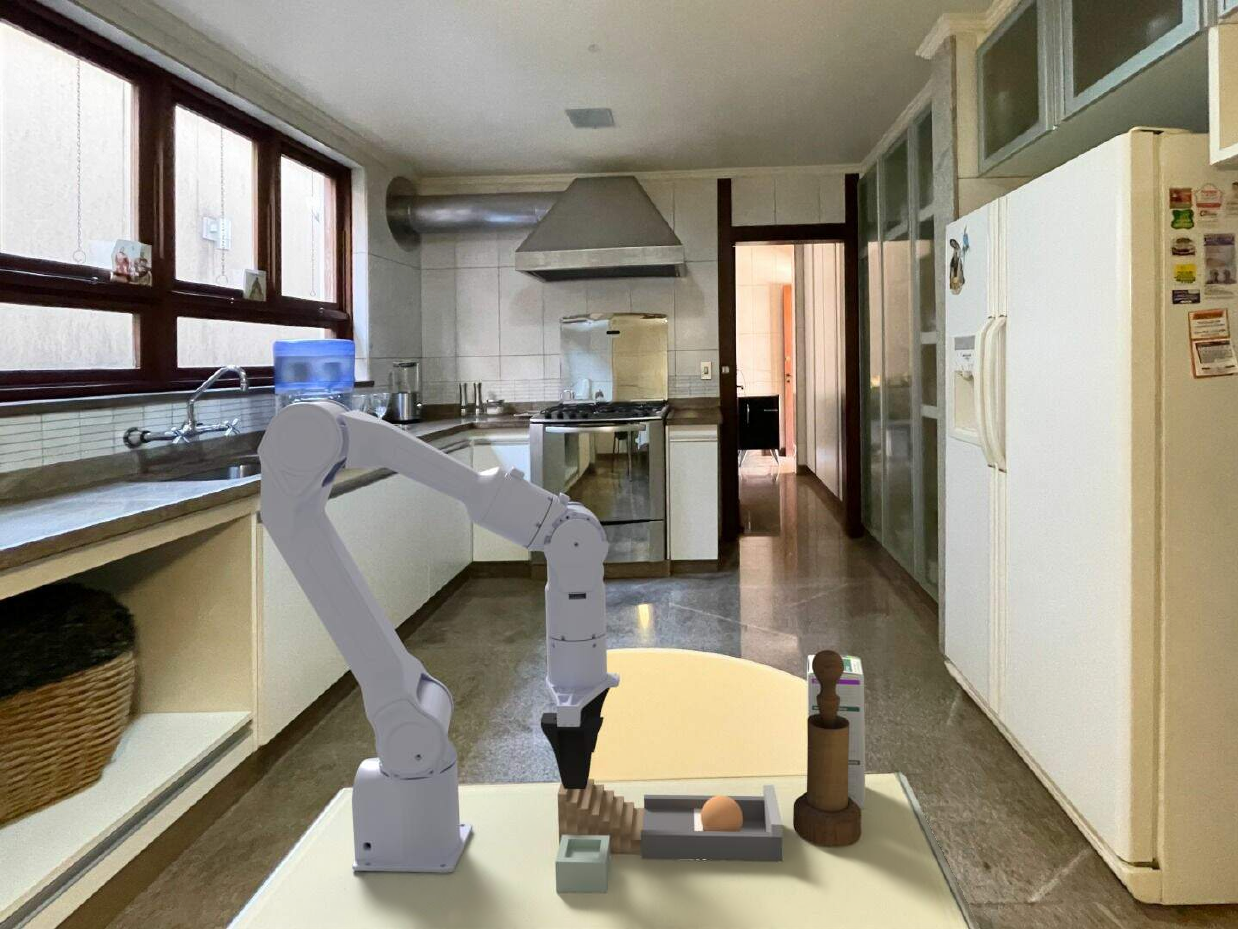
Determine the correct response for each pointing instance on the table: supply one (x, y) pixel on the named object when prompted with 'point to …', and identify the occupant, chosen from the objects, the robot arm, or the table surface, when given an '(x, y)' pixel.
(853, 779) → the syrup box
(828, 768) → the mortar and pestle
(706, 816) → the ball
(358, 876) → the table surface
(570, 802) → the staircase
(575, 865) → the hollow square container
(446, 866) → the robot arm
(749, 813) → the lane
